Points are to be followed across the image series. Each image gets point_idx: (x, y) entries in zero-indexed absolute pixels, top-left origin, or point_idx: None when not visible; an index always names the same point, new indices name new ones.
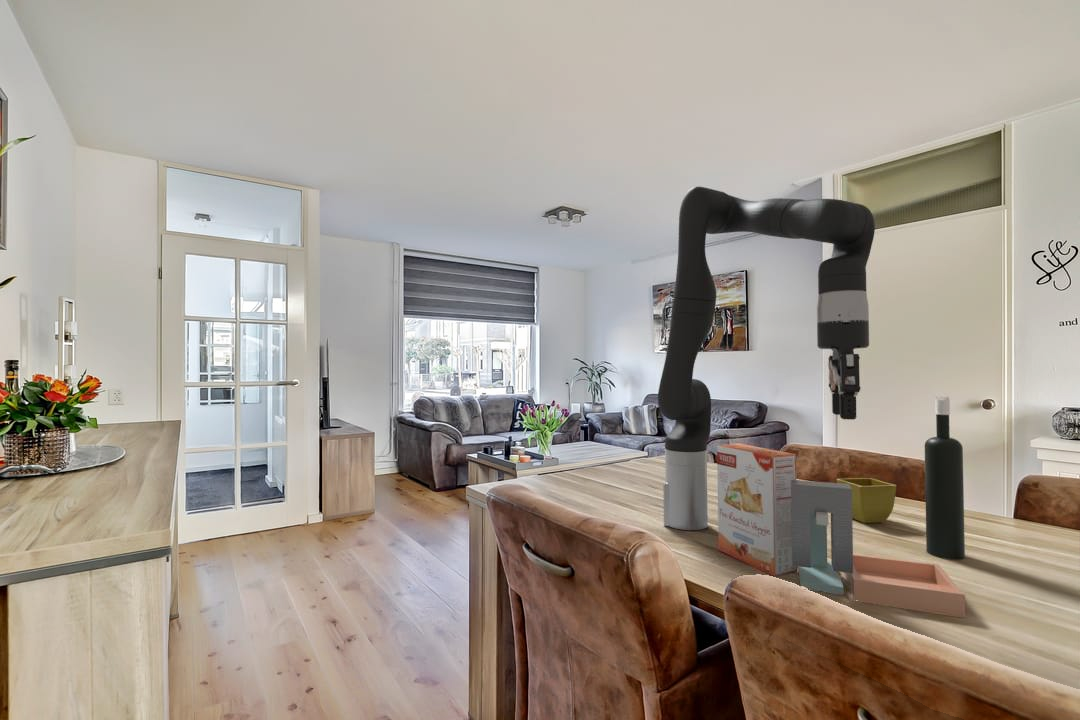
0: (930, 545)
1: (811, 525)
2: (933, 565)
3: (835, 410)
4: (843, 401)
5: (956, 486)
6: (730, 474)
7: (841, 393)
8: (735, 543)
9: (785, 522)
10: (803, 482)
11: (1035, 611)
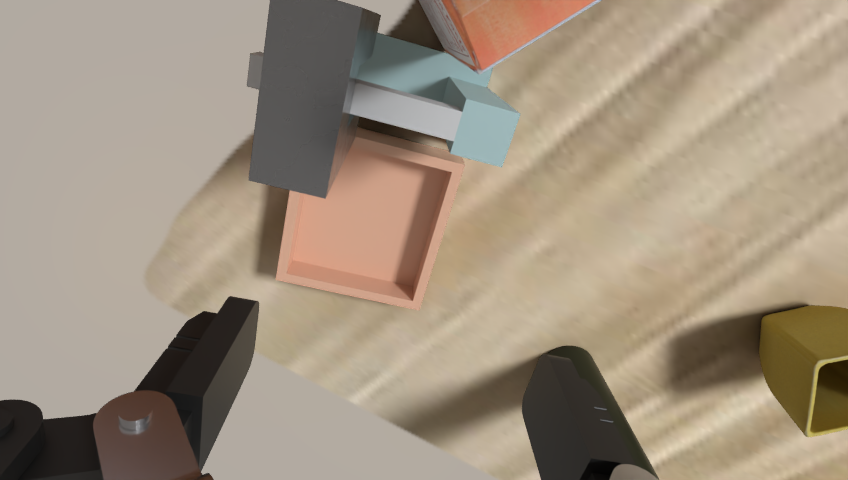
0: (569, 356)
1: (454, 98)
2: (412, 300)
3: (546, 375)
4: (166, 373)
5: None
6: None
7: (110, 406)
8: None
9: (428, 12)
10: (318, 45)
11: (336, 361)
